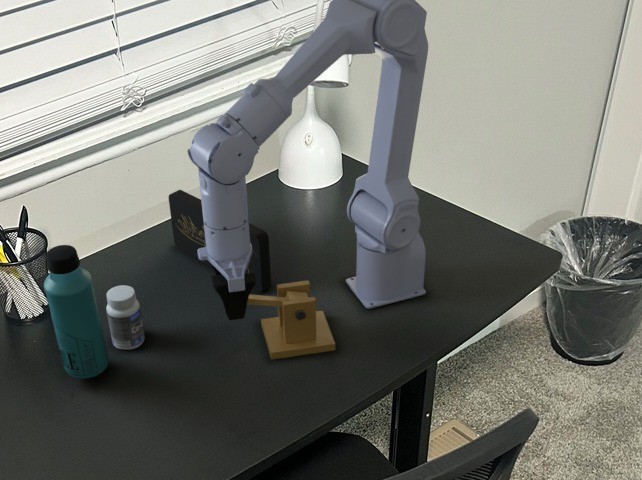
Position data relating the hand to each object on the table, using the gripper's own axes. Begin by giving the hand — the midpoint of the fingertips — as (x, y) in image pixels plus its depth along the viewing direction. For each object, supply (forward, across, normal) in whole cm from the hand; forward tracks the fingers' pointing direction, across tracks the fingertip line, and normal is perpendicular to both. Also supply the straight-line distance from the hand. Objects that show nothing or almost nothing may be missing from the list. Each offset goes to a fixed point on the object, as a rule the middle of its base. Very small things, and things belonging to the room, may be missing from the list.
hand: (233, 305), depth 124 cm
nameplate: (+7, -21, 0) cm, 22 cm away
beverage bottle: (+7, +1, -21) cm, 22 cm away
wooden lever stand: (+7, 0, +9) cm, 11 cm away
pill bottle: (+7, -5, -15) cm, 17 cm away
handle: (+1, 0, +4) cm, 5 cm away
